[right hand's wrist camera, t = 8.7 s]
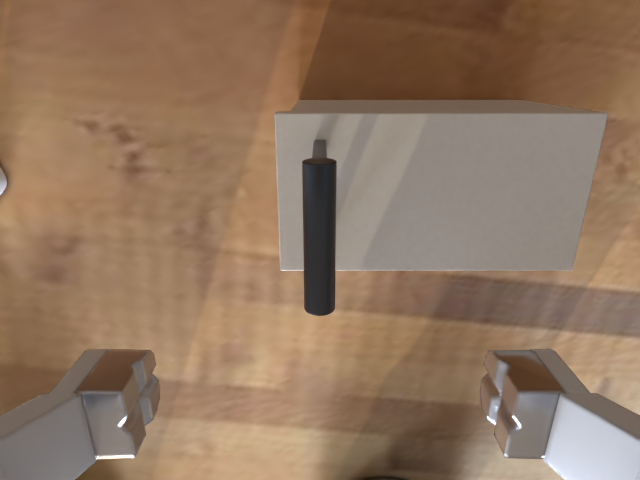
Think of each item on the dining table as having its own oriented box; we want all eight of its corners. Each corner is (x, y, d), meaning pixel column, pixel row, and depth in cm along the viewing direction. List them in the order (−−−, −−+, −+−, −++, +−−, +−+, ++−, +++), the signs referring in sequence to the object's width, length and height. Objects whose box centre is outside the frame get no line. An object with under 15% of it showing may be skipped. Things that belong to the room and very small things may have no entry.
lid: (281, 263, 29) (266, 339, 21) (276, 111, 25) (255, 131, 17) (563, 263, 28) (658, 340, 20) (597, 111, 25) (727, 131, 17)
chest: (300, 216, 38) (293, 263, 29) (298, 99, 34) (289, 111, 25) (504, 215, 38) (563, 263, 29) (522, 99, 34) (596, 111, 25)
